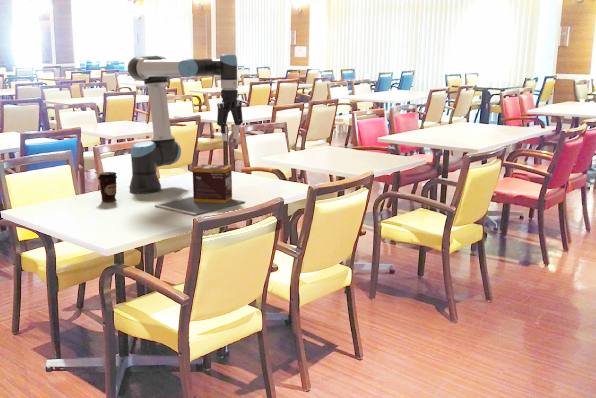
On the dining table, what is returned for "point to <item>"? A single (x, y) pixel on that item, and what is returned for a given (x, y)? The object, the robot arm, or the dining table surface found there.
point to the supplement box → (212, 183)
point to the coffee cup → (108, 186)
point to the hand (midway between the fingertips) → (230, 139)
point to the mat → (196, 206)
